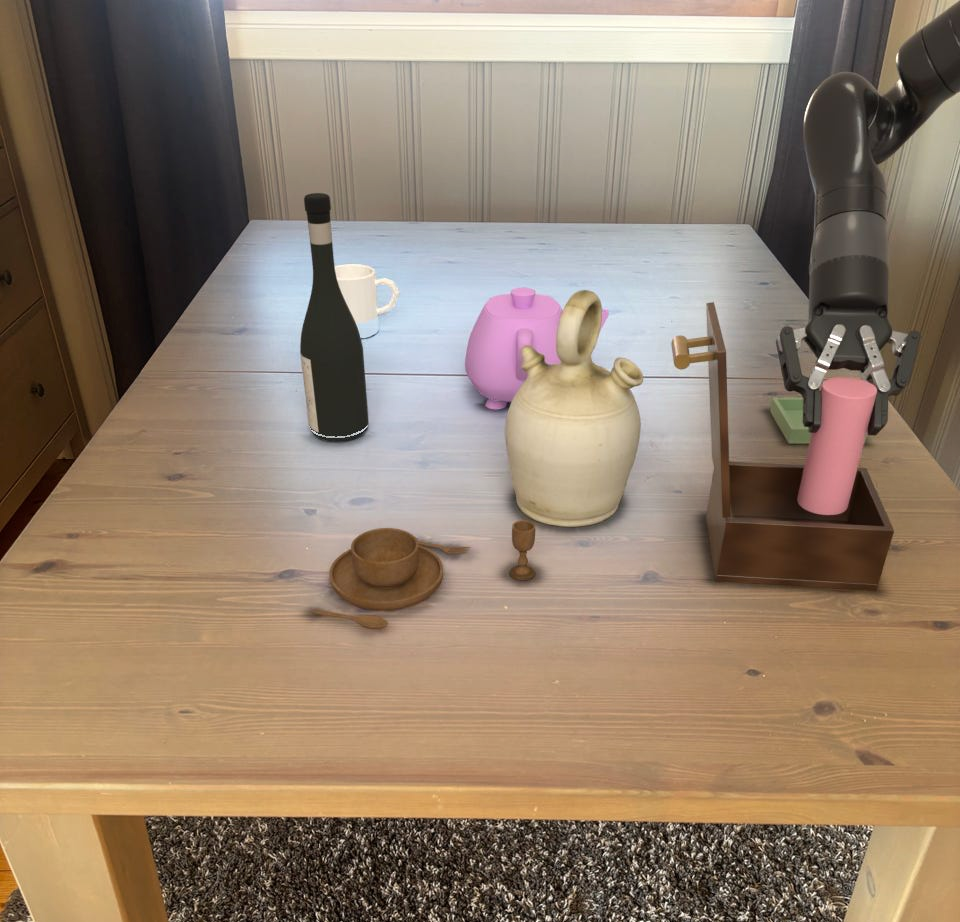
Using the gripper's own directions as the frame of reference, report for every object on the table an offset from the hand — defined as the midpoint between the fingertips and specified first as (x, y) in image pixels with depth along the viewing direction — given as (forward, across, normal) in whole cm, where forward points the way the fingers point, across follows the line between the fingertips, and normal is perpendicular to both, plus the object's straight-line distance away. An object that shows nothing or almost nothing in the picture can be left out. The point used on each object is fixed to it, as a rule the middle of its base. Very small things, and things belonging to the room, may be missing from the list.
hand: (844, 430), depth 97 cm
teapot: (-18, -33, +39) cm, 54 cm away
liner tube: (+5, 0, +8) cm, 9 cm away
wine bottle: (-8, -59, +30) cm, 66 cm away
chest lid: (-2, -12, +1) cm, 12 cm away
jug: (+4, -27, +18) cm, 33 cm away
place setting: (+18, -42, +4) cm, 45 cm away
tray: (-14, +6, +36) cm, 39 cm away
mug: (-35, -63, +56) cm, 91 cm away
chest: (+10, -3, +12) cm, 16 cm away
